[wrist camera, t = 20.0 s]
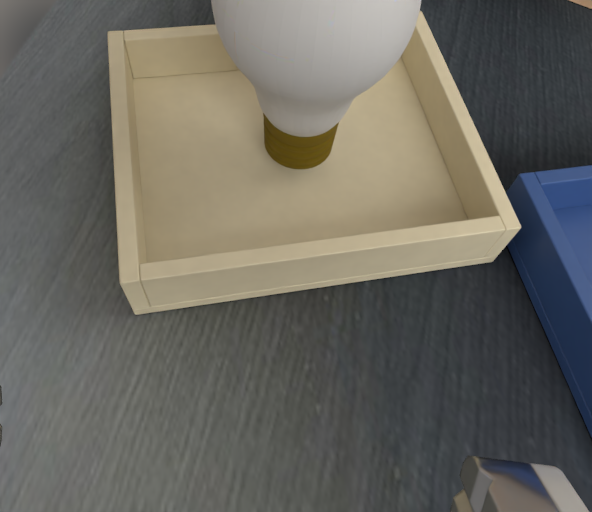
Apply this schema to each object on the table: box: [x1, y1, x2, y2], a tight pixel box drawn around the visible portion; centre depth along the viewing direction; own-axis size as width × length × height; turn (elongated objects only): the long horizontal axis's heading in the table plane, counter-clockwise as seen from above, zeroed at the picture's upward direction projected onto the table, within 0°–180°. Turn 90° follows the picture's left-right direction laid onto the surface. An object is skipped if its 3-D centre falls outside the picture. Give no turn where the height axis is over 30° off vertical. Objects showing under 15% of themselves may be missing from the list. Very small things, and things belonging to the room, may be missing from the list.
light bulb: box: [211, 0, 421, 170], centre depth 17 cm, size 6×6×10 cm
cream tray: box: [107, 11, 521, 315], centre depth 21 cm, size 13×11×2 cm
